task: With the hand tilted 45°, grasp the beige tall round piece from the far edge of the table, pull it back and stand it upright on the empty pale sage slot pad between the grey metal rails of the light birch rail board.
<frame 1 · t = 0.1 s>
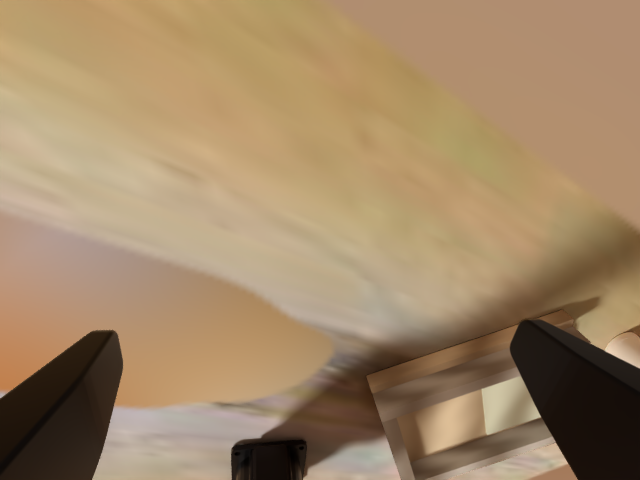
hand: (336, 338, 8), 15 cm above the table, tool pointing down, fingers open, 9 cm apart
rail board: (470, 395, 34), on the table
beige tall round piece: (619, 343, 34), on the table
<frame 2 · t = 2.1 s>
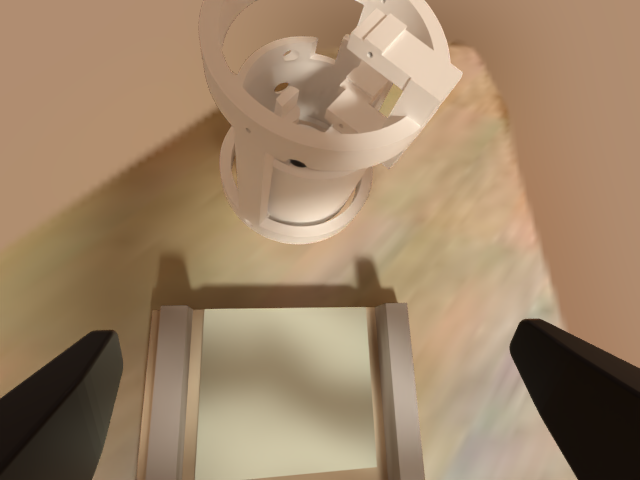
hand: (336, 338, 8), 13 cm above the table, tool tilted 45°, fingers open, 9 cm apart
rail board: (287, 478, 19), on the table
beige tall round piece: (285, 216, 23), on the table
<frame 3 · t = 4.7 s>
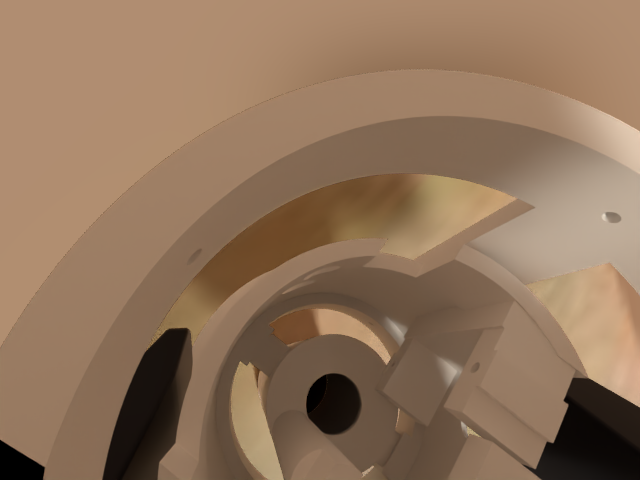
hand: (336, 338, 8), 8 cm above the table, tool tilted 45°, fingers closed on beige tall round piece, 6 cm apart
beige tall round piece: (294, 381, 16), on the table, touching gripper
when the fingers open (11 cm above the table, at t = 8.4 s): beige tall round piece drops 1 cm, resting on rail board.
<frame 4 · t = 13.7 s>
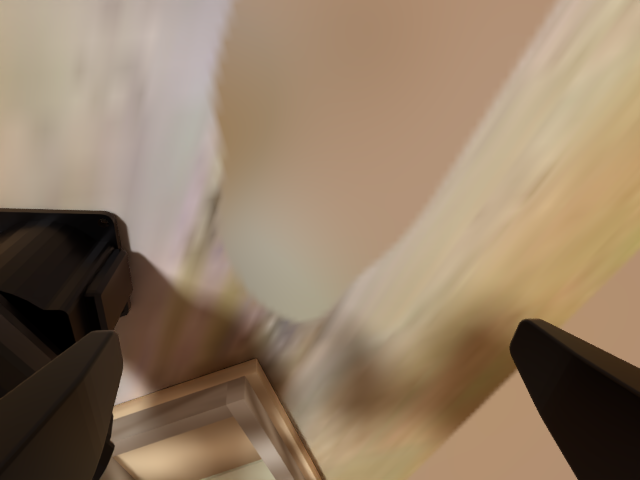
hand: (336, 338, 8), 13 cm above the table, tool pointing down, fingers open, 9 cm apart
rail board: (211, 456, 30), on the table
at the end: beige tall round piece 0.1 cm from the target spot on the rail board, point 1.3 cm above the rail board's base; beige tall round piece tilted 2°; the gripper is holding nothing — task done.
